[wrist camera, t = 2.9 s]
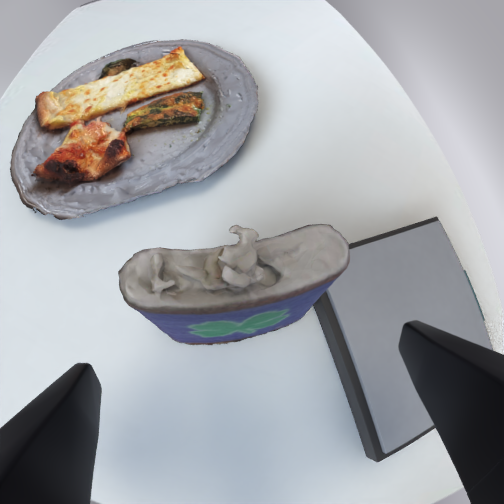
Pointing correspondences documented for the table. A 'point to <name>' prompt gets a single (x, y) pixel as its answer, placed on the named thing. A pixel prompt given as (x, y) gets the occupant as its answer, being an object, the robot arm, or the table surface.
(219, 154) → the food plate
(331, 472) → the table surface
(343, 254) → the flask
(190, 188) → the table surface
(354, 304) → the scale
